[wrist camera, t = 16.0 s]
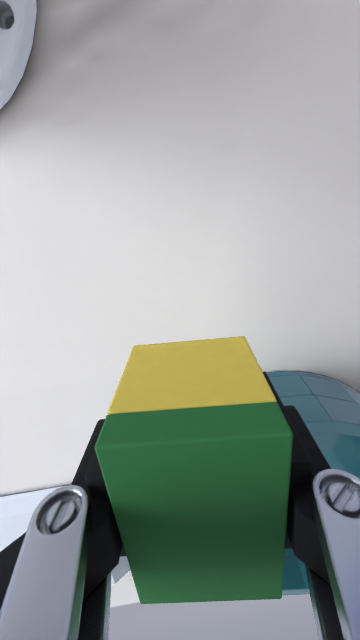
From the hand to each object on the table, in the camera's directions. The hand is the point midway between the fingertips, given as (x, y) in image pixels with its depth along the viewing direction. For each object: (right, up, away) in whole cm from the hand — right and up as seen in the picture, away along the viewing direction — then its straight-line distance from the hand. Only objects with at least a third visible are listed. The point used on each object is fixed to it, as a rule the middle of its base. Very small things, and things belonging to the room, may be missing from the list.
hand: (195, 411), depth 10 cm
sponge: (0, 0, 0) cm, 0 cm away
